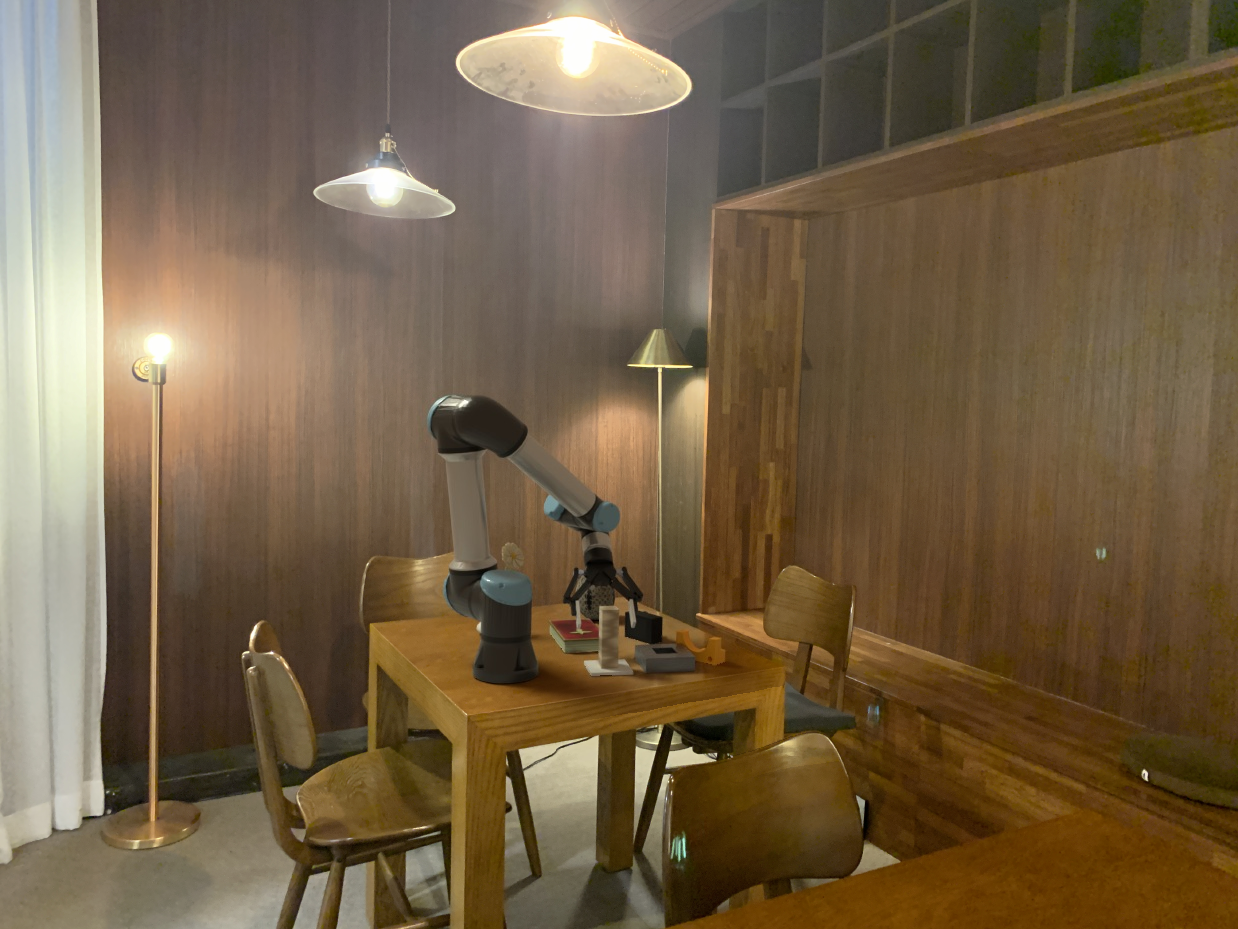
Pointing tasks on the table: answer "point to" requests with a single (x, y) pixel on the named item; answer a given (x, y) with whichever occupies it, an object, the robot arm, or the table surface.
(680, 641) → the pipe clamp
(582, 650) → the hardcover book
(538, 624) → the table surface
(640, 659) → the socket block
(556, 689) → the table surface
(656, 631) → the black rectangular block
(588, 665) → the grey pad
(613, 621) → the birch peg
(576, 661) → the table surface
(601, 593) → the decorative egg
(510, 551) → the flower in vase
